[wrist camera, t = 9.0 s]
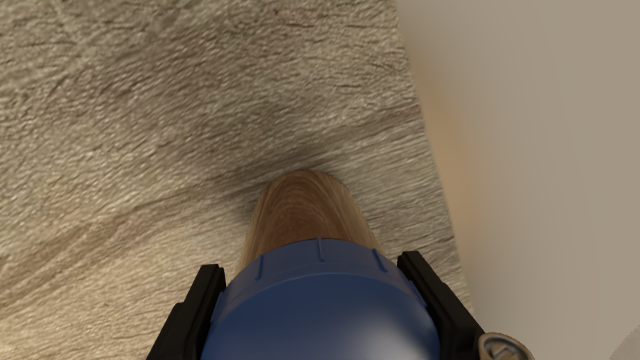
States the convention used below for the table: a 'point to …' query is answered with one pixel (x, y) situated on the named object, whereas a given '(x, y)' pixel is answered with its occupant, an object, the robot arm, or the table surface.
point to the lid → (321, 308)
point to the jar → (304, 215)
